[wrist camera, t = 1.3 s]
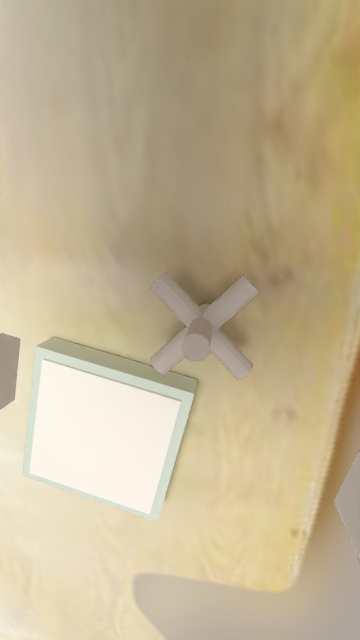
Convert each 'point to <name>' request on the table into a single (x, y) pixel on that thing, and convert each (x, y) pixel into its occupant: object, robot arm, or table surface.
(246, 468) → the table surface
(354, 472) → the robot arm
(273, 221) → the table surface
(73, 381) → the stand
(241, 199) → the table surface
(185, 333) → the pipe connector
